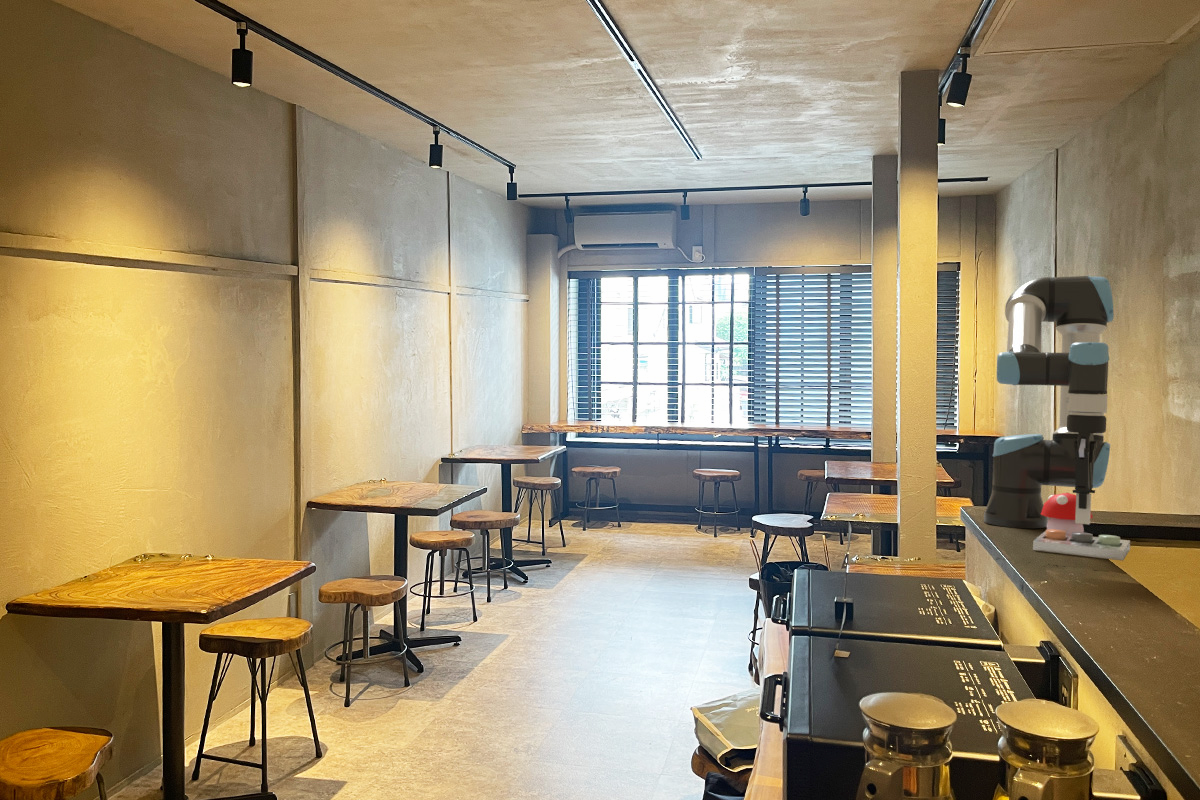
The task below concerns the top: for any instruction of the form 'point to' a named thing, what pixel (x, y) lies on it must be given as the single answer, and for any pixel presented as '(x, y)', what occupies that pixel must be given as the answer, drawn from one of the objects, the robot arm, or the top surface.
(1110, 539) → the button sage
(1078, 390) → the robot arm
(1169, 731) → the top surface
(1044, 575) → the top surface
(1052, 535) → the button terracotta
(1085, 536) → the button charcoal
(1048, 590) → the top surface
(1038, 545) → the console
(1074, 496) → the mushroom
